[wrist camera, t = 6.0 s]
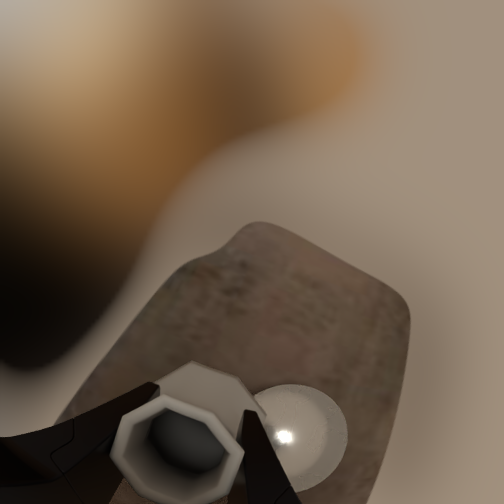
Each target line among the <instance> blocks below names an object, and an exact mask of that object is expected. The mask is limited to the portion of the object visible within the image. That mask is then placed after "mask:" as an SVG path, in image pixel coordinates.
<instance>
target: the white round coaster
mask: <svg viewBox="0 0 504 504" xmlns="http://www.w3.org/2000/svg"><path fill="white" fill-rule="evenodd" d="M253 397H254V398H255V400H256V401H257V402H258V404H259V405H260V406H261V407H262V409H263V410H264V411H265V412H266V414H267V416H266V419H265V422H264V425H263V427H264V429H265V431H266V433H267V436H268V438H269V440H270V442H271V444H272V446H273V448H274V451H275V453H276V455H277V457H278V459H279V461H280V463H281V465H282V467H283V469H284V471H285V473H286V475H287V477H288V479H289V481H290V483H291V486H292V487H293V489H294V491H295V492H300V491H303V490H306V489H309V488H311V487H313V486H315V485H317V484H319V483H320V482H322V481H323V480H324V479H326V478H327V477H328V476H329V475H330V474H331V473H332V472H333V471H334V470H335V468H336V467H337V466H338V464H339V463H340V461H341V459H342V457H343V455H344V452H345V449H346V445H347V434H348V432H347V425H346V421H345V418H344V416H343V413H342V412H341V410H340V408H339V407H338V406H337V404H336V403H335V402H334V401H333V400H332V399H331V398H330V397H329V396H327V395H326V394H324V393H323V392H321V391H319V390H317V389H314V388H312V387H308V386H304V385H296V384H287V385H279V386H275V387H271V388H269V389H266V390H263V391H261V392H259V393H257V394H255V395H253Z"/></svg>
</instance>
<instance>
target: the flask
mask: <svg viewBox="0 0 504 504" xmlns="http://www.w3.org/2000/svg"><path fill="white" fill-rule="evenodd" d="M154 383H155V384H158V385H160V396H159V397H157V398H155V399H154V400H152V401H150V402H148V403H146V404H144V405H143V406H141V407H139V408H137V409H135V410H133V411H131V412H129V413H127V414H125V415H124V416H122V419H121V422H120V425H119V428H118V430H117V433H116V436H115V439H114V442H113V445H112V448H111V451H110V454H109V456H110V458H111V459H112V461H113V462H114V464H115V465H116V467H117V468H118V470H119V471H120V472H121V474H122V475H123V476H124V478H125V479H126V480H127V482H128V483H129V484H130V486H131V487H132V488H133V489H134V491H135V492H136V493H137V494H138V495H139V496H141V497H143V498H146V499H148V500H150V501H153V502H155V503H158V504H210V503H212V502H214V501H216V500H218V499H220V498H222V497H224V496H226V495H228V494H229V492H230V490H231V487H232V485H233V482H234V480H235V477H236V474H237V472H238V469H239V466H240V464H241V461H242V458H243V456H244V453H245V452H244V450H243V449H242V448H241V446H240V445H239V444H238V443H237V441H236V436H237V431H238V427H239V423H240V420H241V417H242V414H243V411H244V410H245V409H248V410H253V411H256V412H257V414H258V416H259V418H260V420H261V422H262V425H264V422H265V419H266V416H267V414H266V412H265V411H264V410H263V409H262V407H261V406H260V405H259V404H258V402H257V401H256V400H255V398H254V397H253V396H252V395H251V393H250V392H249V391H248V389H247V388H246V387H245V385H244V384H243V383H242V381H241V380H240V379H239V377H237V376H234V375H231V374H228V373H225V372H222V371H219V370H217V369H214V368H211V367H208V366H205V365H203V364H200V363H197V362H195V361H192V360H191V361H190V362H188V363H186V364H185V365H183V366H181V367H180V368H178V369H176V370H175V371H173V372H171V373H169V374H168V375H166V376H164V377H162V378H161V379H159V380H157V381H155V382H154ZM152 419H153V422H152ZM151 422H152V424H151ZM150 424H151V427H150ZM149 427H150V429H149ZM148 429H149V432H148ZM147 432H148V434H147ZM146 434H147V436H146ZM145 437H146V439H145ZM144 440H145V441H144Z"/></svg>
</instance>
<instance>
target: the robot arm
mask: <svg viewBox="0 0 504 504" xmlns="http://www.w3.org/2000/svg"><path fill="white" fill-rule="evenodd" d="M159 396H160V385H158V384H155V383H153V382H147V383H145V384H143V385H141V386H139V387H137V388H135V389H133V390H131V391H129V392H127V393H125V394H123V395H121V396H119V397H117V398H115V399H113V400H111V401H109V402H107V403H104V404H102V405H100V406H98V407H96V408H94V409H92V410H90V411H87V412H85V413H83V414H81V415H78V416H76V417H74V419H73V418H72V419H69V420H67V421H65V422H62V423H59V424H57V425H54V426H51V427H48V428H45V429H42V430H38V431H34V432H30V433H26V434H21V435H17V436H12V437H0V504H109V502H110V500H111V498H112V497H113V495H114V493H115V491H116V490H117V488H118V486H119V485H120V483H121V481H122V479H123V478H124V476H123V475H122V474H121V472H120V471H119V470H118V468H117V467H116V465H115V464H114V462H113V461H112V459H111V458H110V456H109V454H110V451H111V448H112V445H113V442H114V439H115V436H116V433H117V430H118V428H119V425H120V422H121V419H122V416H124V415H125V414H127V413H129V412H131V411H133V410H135V409H137V408H139V407H141V406H143V405H144V404H146V403H148V402H150V401H152V400H154V399H155V398H157V397H159ZM152 422H153V419H152ZM152 422H151V424H152ZM151 424H150V427H151ZM150 427H149V429H150ZM149 429H148V432H149ZM148 432H147V434H148ZM147 434H146V436H147ZM145 439H146V437H145ZM144 441H145V440H144ZM236 441H237V443H238V444H239V445H240V446H241V448H242V449H243V450H244V452H245V453H244V456H243V458H242V461H241V464H240V466H239V469H238V472H237V474H236V477H235V480H234V482H233V485H232V487H231V490H230V492H229V494H228V504H302V503H301V502H300V500H299V498H298V496H297V495H296V493H295V491H294V489H293V487H292V486H291V483H290V481H289V479H288V477H287V475H286V473H285V471H284V469H283V467H282V465H281V463H280V461H279V459H278V457H277V455H276V453H275V451H274V448H273V446H272V444H271V442H270V440H269V438H268V436H267V433H266V431H265V429H264V427H263V425H262V422H261V420H260V418H259V416H258V414H257V412H256V411H253V410H248V409H245V410H244V411H243V414H242V417H241V420H240V423H239V427H238V431H237V436H236Z"/></svg>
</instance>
